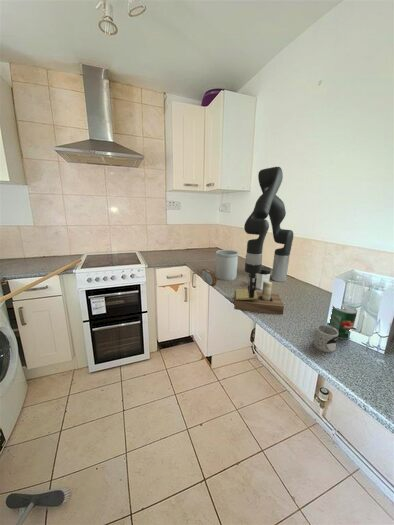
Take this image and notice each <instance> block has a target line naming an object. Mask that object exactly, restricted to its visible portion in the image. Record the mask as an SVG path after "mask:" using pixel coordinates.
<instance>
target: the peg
mask: <svg viewBox="0 0 394 525" xmlns="http://www.w3.org/2000/svg"><path fill="white" fill-rule="evenodd" d="M272 288H273V282H270V281H269V282H263V290H261V293H262V299H261V300H263V301H270V297H271V293H272V290H273V289H272Z"/></svg>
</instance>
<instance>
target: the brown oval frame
mask: <svg viewBox="0 0 394 525" xmlns="http://www.w3.org/2000/svg"><path fill="white" fill-rule="evenodd" d="M201 278H202V280H203V282H204V283H205V284H207V285H208V286H211V287H213V286H216V285H217V282H218V281H217V280H218V279H217V278H216V273H215V272H213V270H210V269H209V268H203V269H202V270H201Z"/></svg>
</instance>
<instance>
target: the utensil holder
mask: <svg viewBox="0 0 394 525" xmlns="http://www.w3.org/2000/svg"><path fill="white" fill-rule="evenodd" d="M239 255H240V254H239V251H237V250H233V249H219V250H216V251H215V256H216V257H215V275H216V279H217V280H220V281H227V282H228V281H234V280H236V279H237V274H238V261H239V258H238V257H239Z"/></svg>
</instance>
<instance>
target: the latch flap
mask: <svg viewBox="0 0 394 525" xmlns="http://www.w3.org/2000/svg"><path fill="white" fill-rule="evenodd" d="M235 290H236V300H254V299H258V297H257V293H256V292H257V289H256V290H255V291H254V297H249V290H248V288H245V289H243V288H242V289H235Z"/></svg>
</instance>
